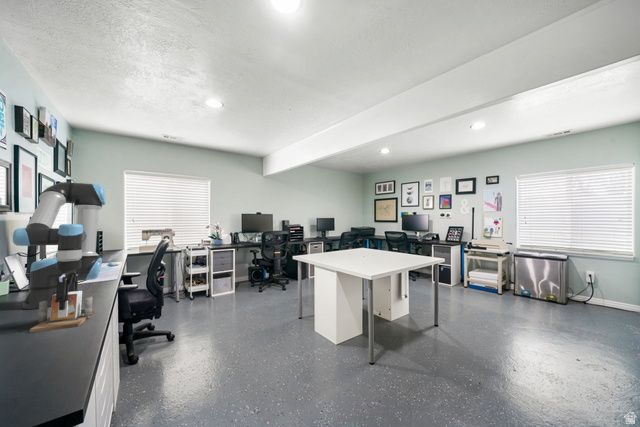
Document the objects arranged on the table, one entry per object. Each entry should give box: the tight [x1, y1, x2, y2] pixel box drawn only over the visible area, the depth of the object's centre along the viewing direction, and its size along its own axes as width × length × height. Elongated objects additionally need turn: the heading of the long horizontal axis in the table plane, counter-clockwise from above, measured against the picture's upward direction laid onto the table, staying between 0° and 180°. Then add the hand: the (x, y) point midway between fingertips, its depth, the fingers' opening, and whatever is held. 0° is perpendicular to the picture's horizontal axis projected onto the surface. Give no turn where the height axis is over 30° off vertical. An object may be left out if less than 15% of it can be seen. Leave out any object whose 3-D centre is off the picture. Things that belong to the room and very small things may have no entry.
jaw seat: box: [29, 296, 96, 333], centre depth 106 cm, size 18×17×9 cm
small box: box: [49, 290, 83, 321], centre depth 106 cm, size 8×6×10 cm
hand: (66, 314), depth 106 cm, fingers closed on small box, 6 cm apart
